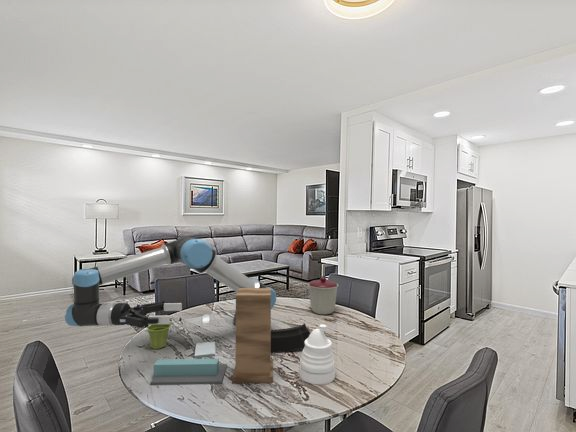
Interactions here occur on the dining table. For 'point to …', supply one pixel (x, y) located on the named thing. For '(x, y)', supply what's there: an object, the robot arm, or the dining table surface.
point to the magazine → (289, 339)
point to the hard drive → (205, 350)
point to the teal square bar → (186, 367)
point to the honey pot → (317, 358)
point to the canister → (323, 295)
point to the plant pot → (158, 335)
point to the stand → (253, 336)
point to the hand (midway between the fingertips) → (175, 312)
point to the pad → (191, 378)
